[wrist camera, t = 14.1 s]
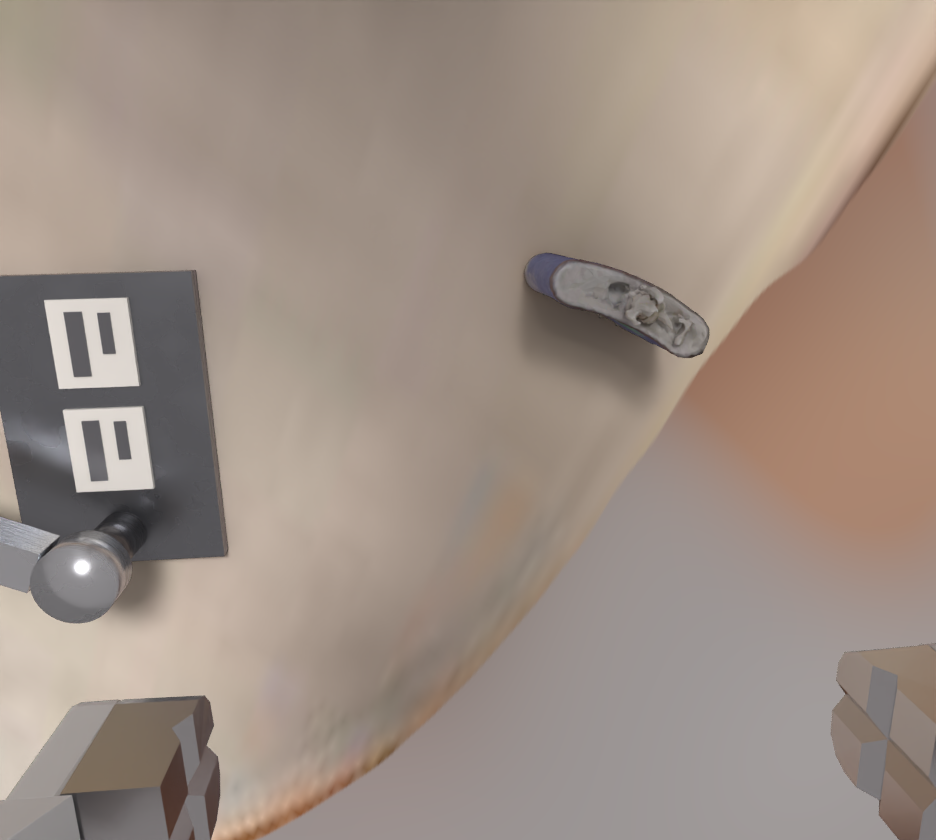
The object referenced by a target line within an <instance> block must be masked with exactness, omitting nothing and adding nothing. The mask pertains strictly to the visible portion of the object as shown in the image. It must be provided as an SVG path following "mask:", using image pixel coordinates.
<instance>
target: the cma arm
mask: <svg viewBox="0 0 936 840" xmlns="http://www.w3.org/2000/svg"><path fill="white" fill-rule="evenodd" d="M59 538H60V536H59V535H56V534H53V533H50V532H47V531H44V530H40V529H37V528H34V527H31V526H28V525H25V524H22V523H19V522H16V521H13V520H9V519H6V518H3V517H0V585H2V586H5V587H9V588H12V589H15V590H18V591H22V592H25V593H28V592H29V591H30V590H31V593H32V596H33V598H34V600H35V602H36V603H37V604H38V606H39V607H40V608H41V609H42V610H43V611H44V612H45V613H47V614H48V615H50V616H51V617H53V618H55V619H57V620H60V621H63V622H67V623H85V622H90V621H93V620H95V619H97V618H99V617H101V616H102V615H104V614H105V613H106V612H107V611H108V610H109V608H110V607H111V606H112V605H113V603H114V602H115V601H116V600H117V598H118V597H119V596H120V594H121V593H122V592H123V591H124V589H125V588H126V587H127V585H128V584H129V582H130V579H131V576H132V562H131V559H130V556H129V554H128V552H127V550H126V549H125V547H124V546H123V545H122V544H121V543H120V542H119V541H117V540H116V539H115V538H113V537H111V536H110V535H108V534H105V533H102V532H99V531H92V530H85V531H78V532H75V533H72V534H70V535H68V536H66V537H65V538H63V539H62V540H61V541H60V542H59V543H58V541H59Z"/></svg>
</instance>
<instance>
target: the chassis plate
mask: <svg viewBox="0 0 936 840" xmlns="http://www.w3.org/2000/svg"><path fill="white" fill-rule="evenodd" d="M126 297H129V304H130V311H131V318H132V325H133V332H134V339H135V347H136V354H137V361H138V368H139V375H140V382H141V385H140V386H126V387H100V388H73V389H59V386H58V380H57V374H56V368H55V363H54V357H53V351H52V345H51V339H50V333H49V327H48V321H47V316H46V310H45V304H44V300H57V299H92V298H126ZM132 406H144V411H145V418H146V425H147V432H148V439H149V446H150V453H151V460H152V468H153V475H154V482H155V488H154V489H139V490H118V491H97V492H76V486H75V480H74V474H73V468H72V462H71V457H70V451H69V445H68V439H67V433H66V427H65V421H64V415H63V410H64V409H81V408H107V407H132ZM0 411H1V417H2V422H3V427H4V432H5V437H6V443H7V448H8V453H9V458H10V463H11V468H12V474H13V479H14V484H15V489H16V494H17V500H18V505H19V510H20V515H21V520H22V524H25V525H28V526H31V527H34V528H37V529H40V530H44V531H47V532H50V533H53V534H56V535H59V536H60V538H59V541H58V543H59V542H60V541H61V540H62V539H63V538H65V537H66V536H68V535H70V534H72V533H75V532H78V531H85V530H92V531H93V530H94V529H95V528H96V527H97V526H98V525H99V524H100V523H101V522H102V521H103V520H104V519H105V518H106V517H107V516H109V515H110V514H112V513H115V512H129V513H132V514H134V515H136V516H137V517H139V518H140V519H141V520H142V521H143V523H144V525H145V527H146V530H147V537H146V541H145V543H144V544H143V545H142V547H141V548H140V549H139V550H138V551H137V553H136V554H135V555H134V556H133V557H132V559H131V561H144V560H162V559H181V558H199V557H217V556H225V554H226V552H227V551H228V544H227V536H226V527H225V518H224V510H223V501H222V493H221V484H220V475H219V467H218V458H217V449H216V441H215V432H214V423H213V415H212V406H211V398H210V389H209V380H208V372H207V363H206V354H205V346H204V337H203V329H202V320H201V311H200V303H199V294H198V285H197V277H196V270H186V271H148V272H110V273H72V274H34V275H0Z"/></svg>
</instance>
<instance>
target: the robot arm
mask: <svg viewBox="0 0 936 840" xmlns="http://www.w3.org/2000/svg"><path fill="white" fill-rule="evenodd" d="M836 681H837V682H838V684H839V685H840V687H841V688H842V690H843V691H844V692H845V695H844V697H843V698H842V699H841V700H840V702H839V703H838V704H837V705H836V706H835V708H834V709H833V710H832V723H831V736H832V740H833V745H834V749H835V754H836V757H837V759H838V760H839V763H840V765H841V767H842V769H843V770H844V772H845V774H846V775H847V776H848V777H849V779H850V780H851V781H852V783H853V784H854V785H855V786H856V787H857V788H859V789H861V790H862V791H864V792H866V793H868V794H869V795H871V796H873V797H875V798H877V799H878V800H879V816H880V817H881V818H882V819H883V821H884V822H885V823H886V824H887V826H888V827H889V828H890V830H891V831H892V832H893V833H894V834H895V836H896V837H897V838H898V839H899V840H936V643H932V644H922V645H918V646H909V647H897V648H886V649H874V650H863V651H851V652H844V654H843V656H842V658H841V659H840V661H839V664H838V671H837V677H836ZM213 727H214V723H213V717H212V711H211V705H210V702H209V700H208V699H207V698H206V697H205V696H186V697H166V698H145V699H125V700H122V701H121V700H107V701H94V702H81V703H79V704H77V705H75V706H72V707H71V709H70V710H69V711H68V712H67V714H66V715H65V717H64V718H63V719H62V721H61V722H60V724H59V725H58V727H57V728H56V729H55V731H54V732H53V734H52V735H51V736H50V738H49V739H48V741H47V742H46V743H45V745H44V746H43V748H42V749H41V750H40V752H39V753H38V755H37V756H36V757H35V759H34V760H33V762H32V763H31V765H30V766H29V767H28V769H27V770H26V772H25V773H24V774H23V776H22V777H21V779H20V780H19V781H18V783H17V784H16V786H15V787H14V788H13V790H12V791H11V793H10V794H9V795H8V797H7V798H6V800H0V840H211V838H212V834H213V831H214V828H215V824H216V821H217V814H218V807H219V800H220V770H219V761H218V756H217V755H216V754H215V753H214V752H213V751H212V750H211V749H210V748H208V747H207V746H206V745H207V743H208V740H209V737H210V735H211V732H212V729H213Z"/></svg>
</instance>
